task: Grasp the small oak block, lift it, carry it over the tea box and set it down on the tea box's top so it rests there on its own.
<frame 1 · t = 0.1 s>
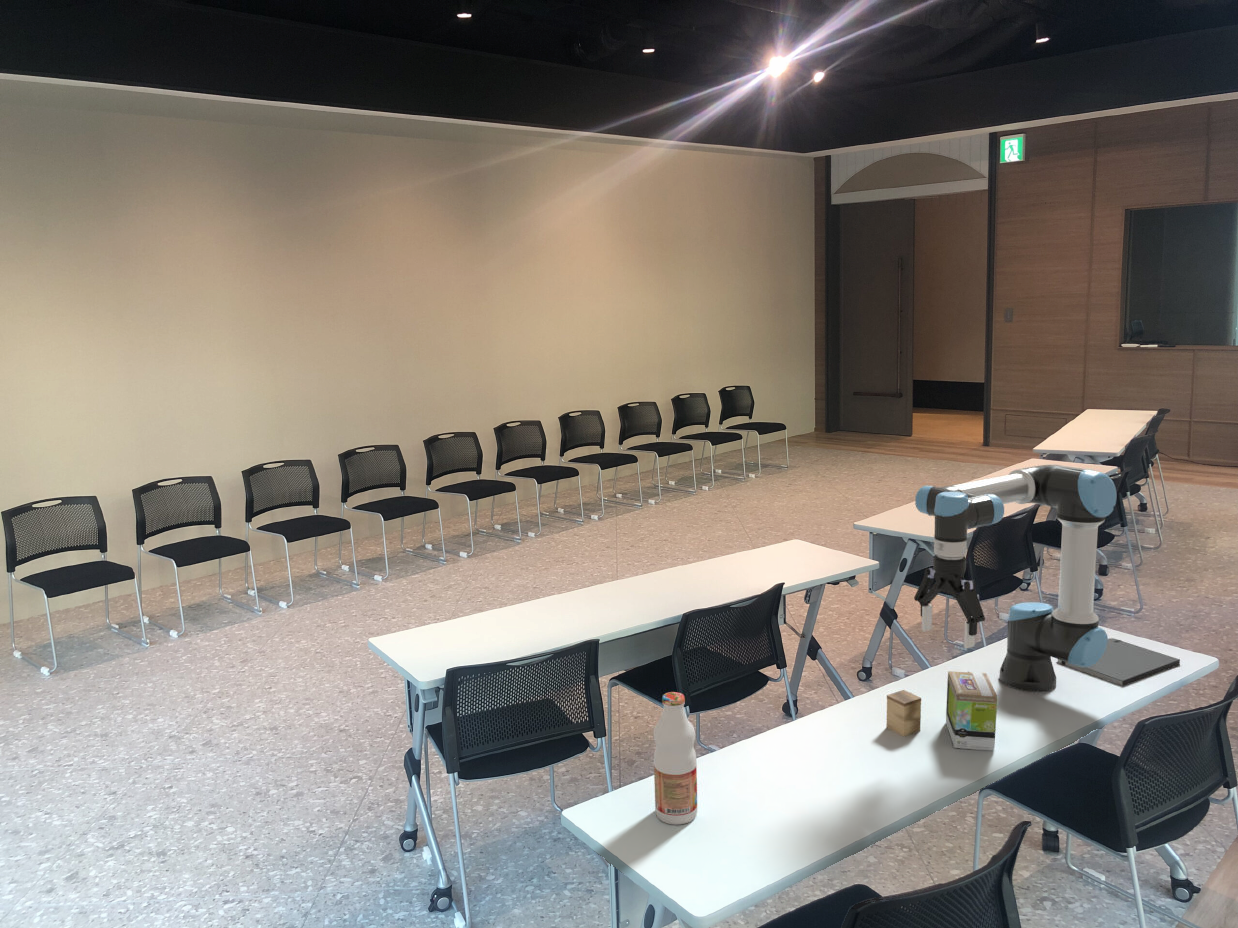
hand: (947, 638, 227), 28 cm above the table, fingers open, 13 cm apart
notebook: (1116, 665, 278), on the table
fruit juice: (676, 814, 205), on the table
oak block: (903, 729, 241), on the table
tea box: (969, 737, 236), on the table
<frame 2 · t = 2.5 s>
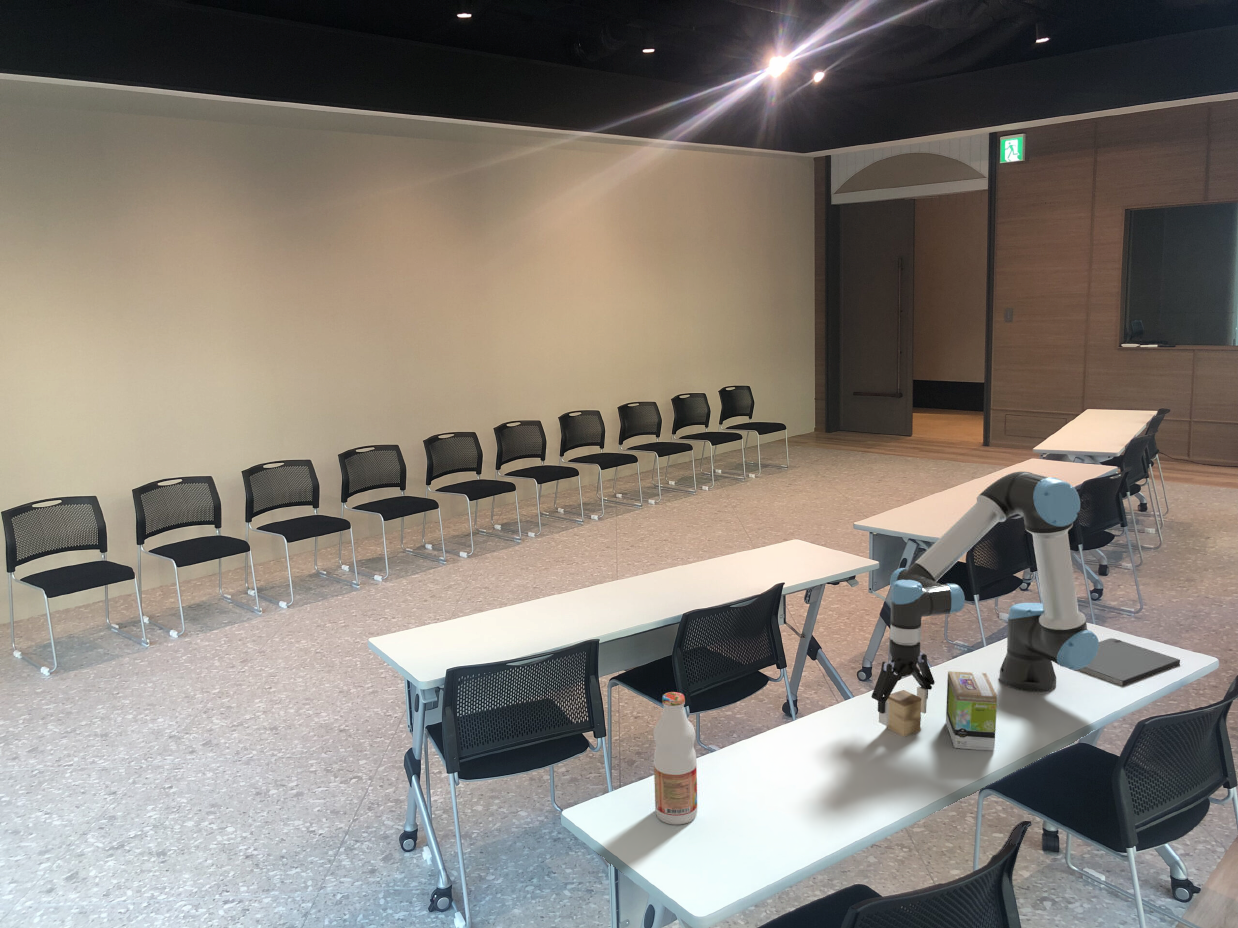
hand: (902, 717, 240), 3 cm above the table, fingers open, 13 cm apart
nothing on the table moved.
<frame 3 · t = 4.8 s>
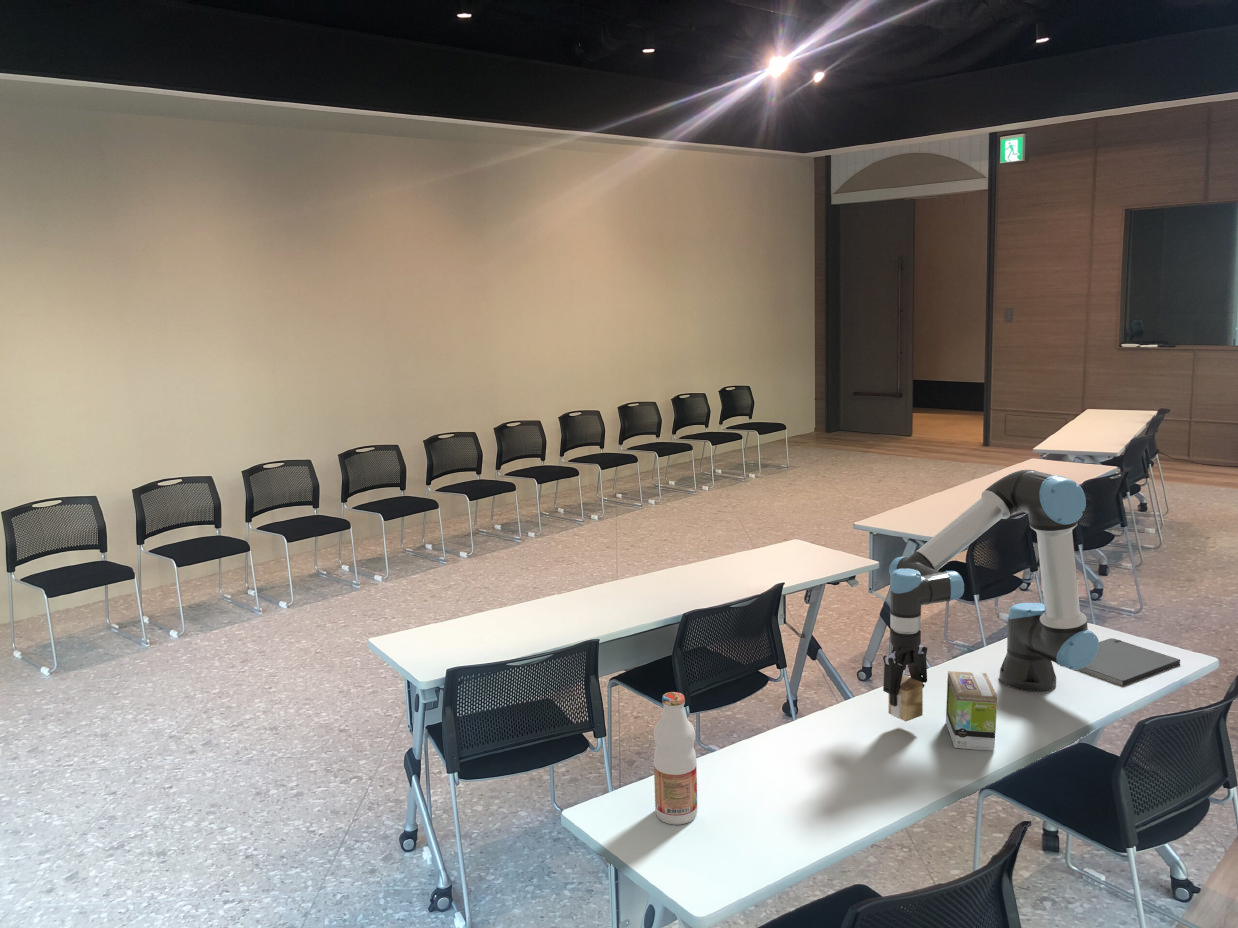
hand: (905, 712, 240), 4 cm above the table, fingers closed on oak block, 6 cm apart
oak block: (905, 714, 240), point 4 cm above the table, touching gripper
everything else where it was.
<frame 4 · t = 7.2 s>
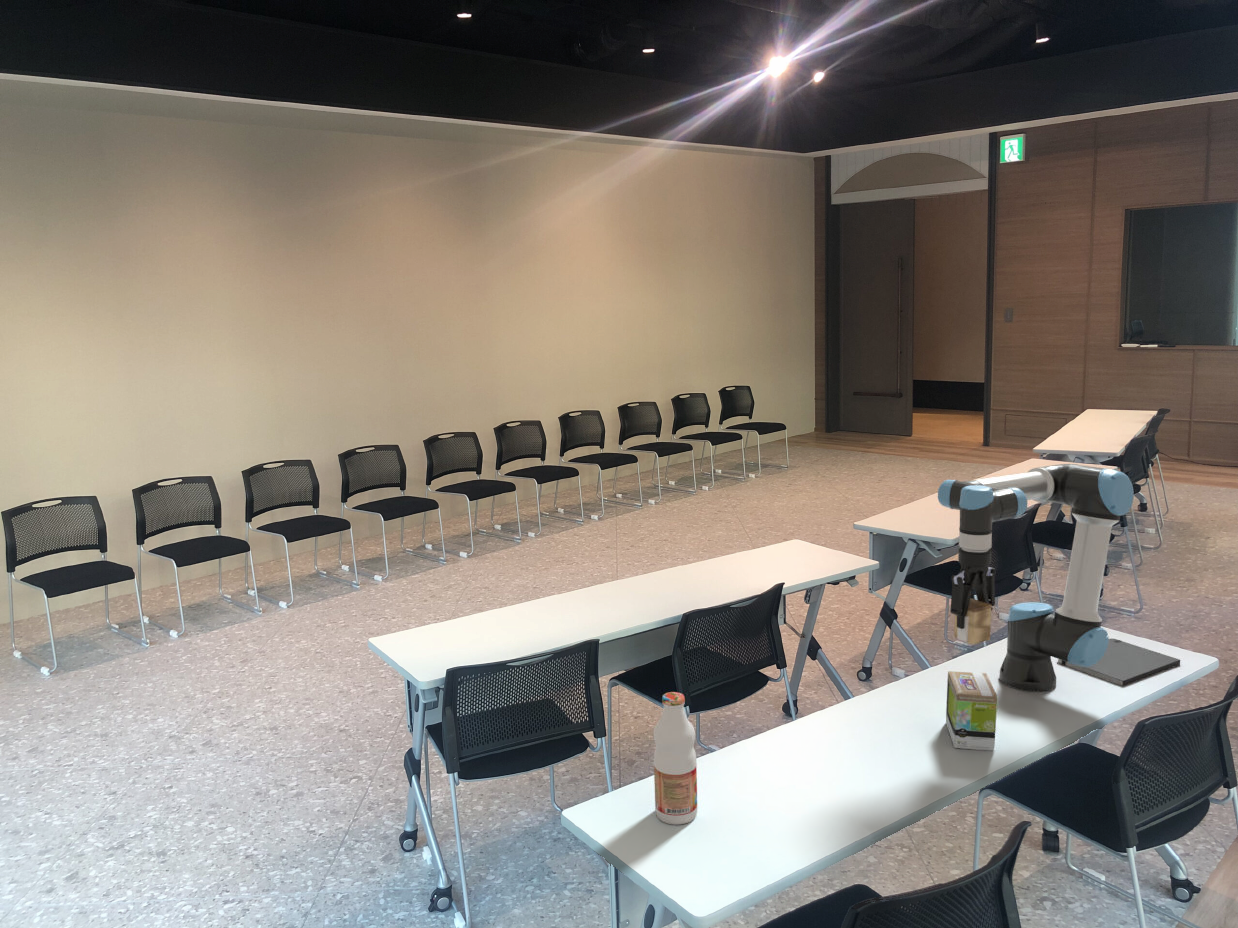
hand: (972, 636, 231), 27 cm above the table, fingers closed on oak block, 6 cm apart
oak block: (972, 638, 231), point 26 cm above the table, touching gripper
everything else where it was.
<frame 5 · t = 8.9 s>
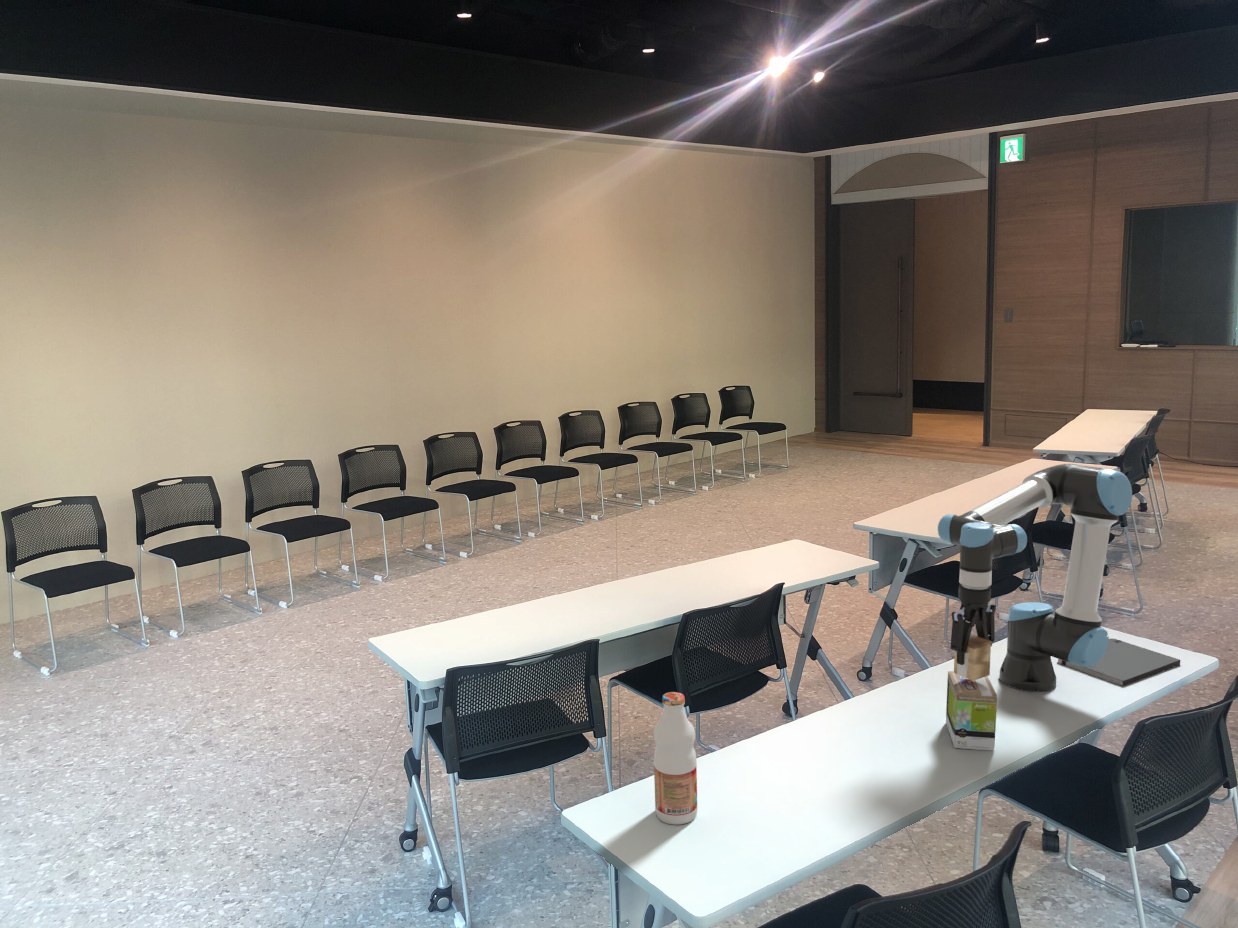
hand: (971, 672, 232), 17 cm above the table, fingers closed on oak block, 6 cm apart
oak block: (971, 673, 232), point 17 cm above the table, touching gripper
everything else where it was.
when the fingers open (16 cm above the table, at t = 10.0 s): oak block stays where it is, resting on tea box.
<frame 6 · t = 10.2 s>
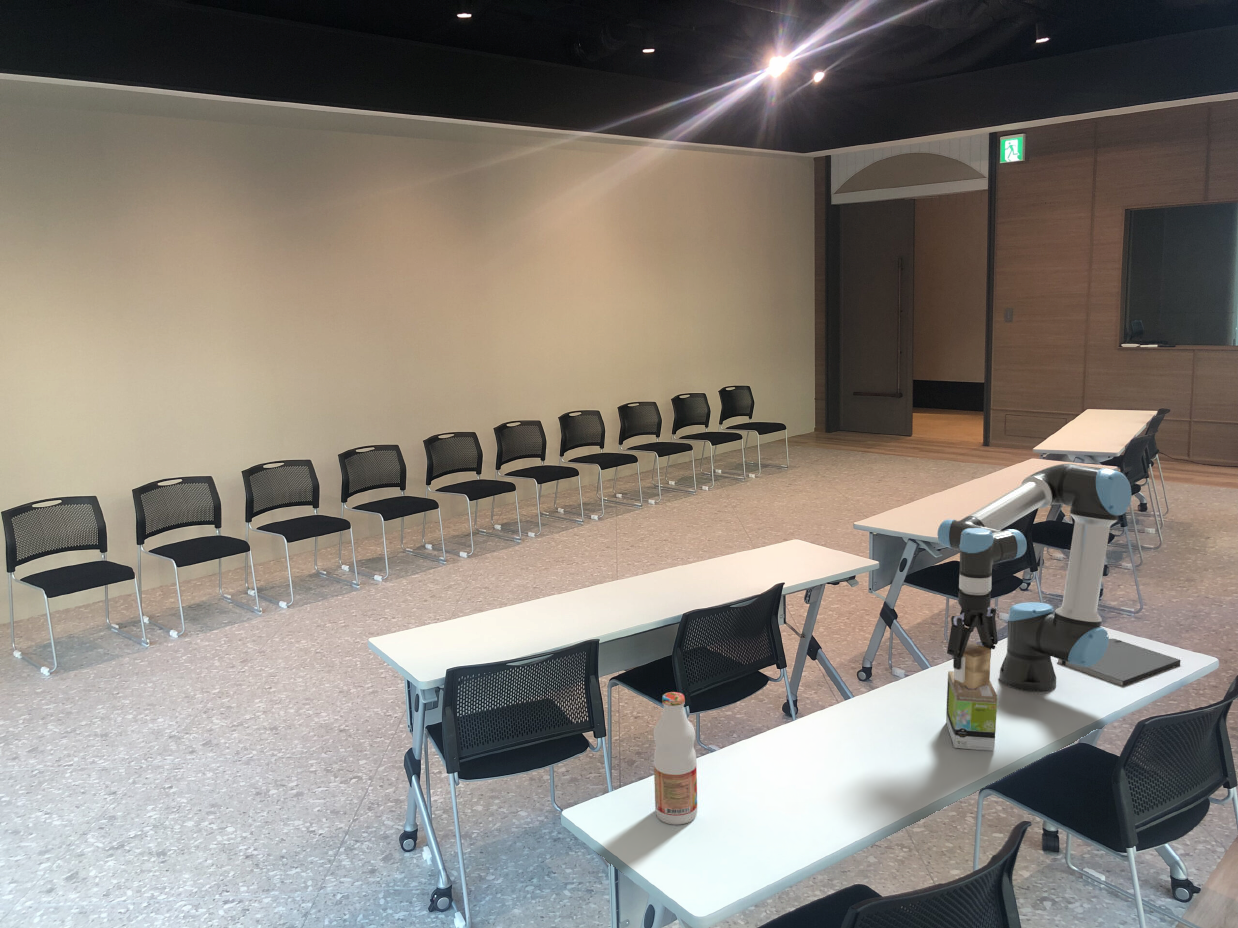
hand: (971, 676, 233), 16 cm above the table, fingers open, 8 cm apart
oak block: (971, 682, 233), point 15 cm above the table, touching tea box
tea box: (969, 737, 236), on the table, touching oak block
everything else where it was.
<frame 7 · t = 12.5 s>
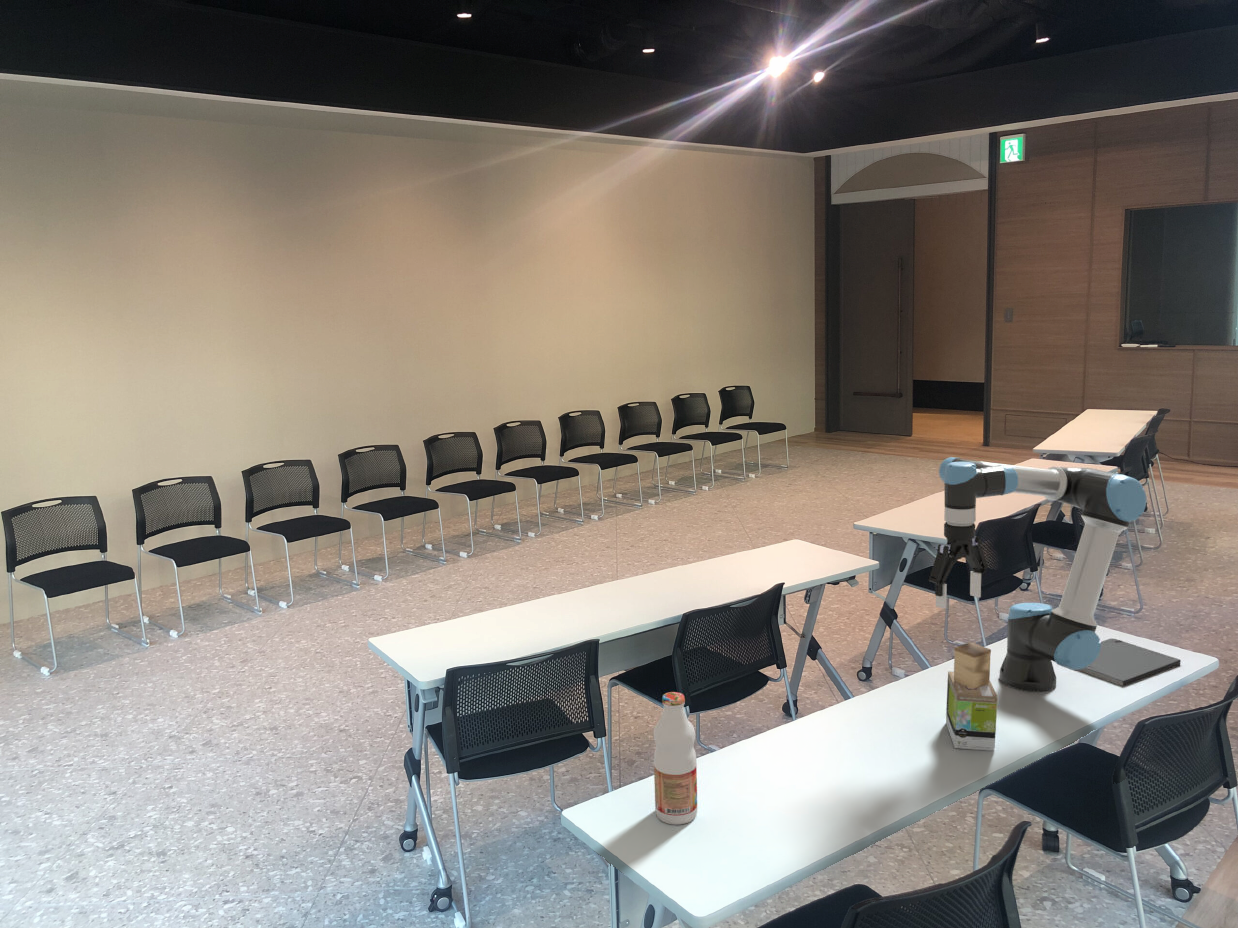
hand: (958, 601, 239), 33 cm above the table, fingers open, 13 cm apart
nothing on the table moved.
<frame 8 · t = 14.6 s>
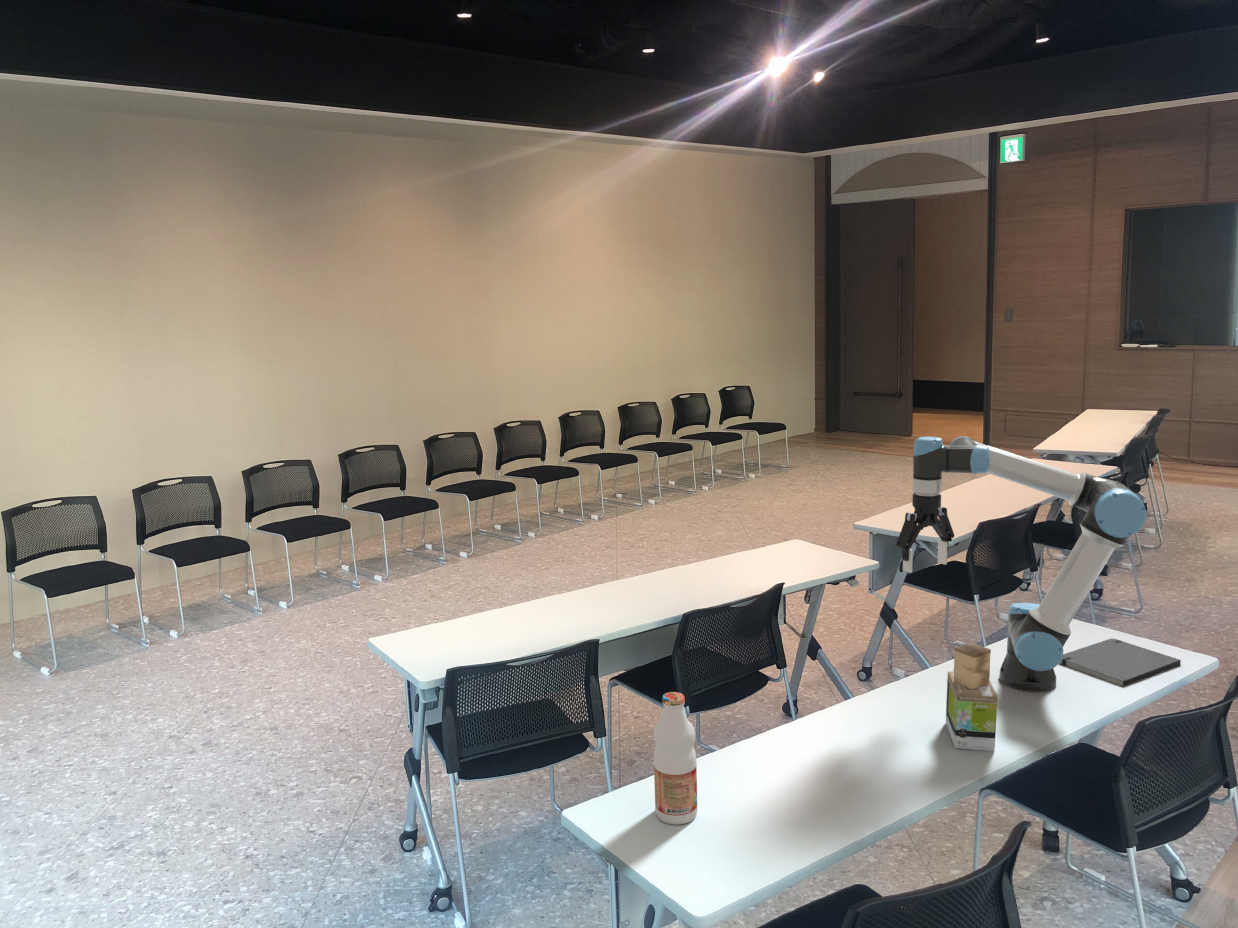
hand: (925, 567, 257), 37 cm above the table, fingers open, 13 cm apart
nothing on the table moved.
at the end: oak block 0.1 cm from the tea box (horizontally); oak block point 14.7 cm above the table; oak block tilted 0° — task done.
